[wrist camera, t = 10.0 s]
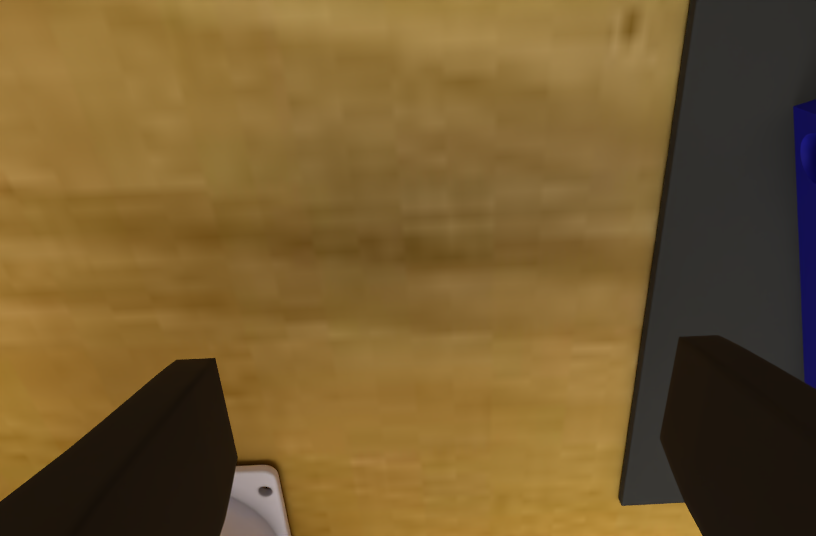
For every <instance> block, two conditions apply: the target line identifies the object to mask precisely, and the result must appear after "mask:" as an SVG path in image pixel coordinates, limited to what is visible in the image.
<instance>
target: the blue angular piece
mask: <svg viewBox="0 0 816 536" xmlns="http://www.w3.org/2000/svg"><path fill="white" fill-rule="evenodd" d="M793 112H794V136H795V160H796V185H797V209H798V233H799V258H800V282H801V306H802V331H803V355H804V380H805V383H806V384H808V385H810V386H811V387H813V388H815V389H816V99H815V100H812V101H809V102H806V103H802V104H799V105H796V106H793Z"/></svg>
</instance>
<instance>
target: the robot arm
mask: <svg viewBox="0 0 816 536" xmlns="http://www.w3.org/2000/svg"><path fill="white" fill-rule="evenodd" d="M660 441H661V444H662V446H663V449H664V452H665V454H666V457H667V460H668V463H669V465H670V468H671V471H672V473H673V476H674V478H675V480H676V483H677V485H678V488H679V490H680V493H681V495H682V498H683V500H684V502H685V503H686V505H687V507H688V509H689V511H690V513H691V515H692V517H693V519H694V520H695V522H696V524H697V526H698V528H699V530H700V532H701V533H702V535H703V536H816V389H815V388H813V387H811V386H810V385H808V384H806V383H805V382H803V381H801V380H799V379H798V378H796V377H794V376H792V375H791V374H789V373H787V372H786V371H784V370H782V369H780V368H779V367H777V366H775V365H773V364H772V363H770V362H768V361H766V360H765V359H763V358H761V357H759V356H758V355H756V354H754V353H752V352H751V351H749V350H747V349H745V348H743V347H741V346H740V345H738V344H736V343H734V342H732V341H730V340H728V339H726V338H724V337H722V336H719V335H707V336H686V337H679V339H678V344H677V349H676V355H675V360H674V365H673V370H672V376H671V381H670V386H669V391H668V397H667V402H666V407H665V412H664V417H663V423H662V428H661V433H660ZM237 458H238V457H237V452H236V448H235V443H234V439H233V435H232V430H231V426H230V421H229V417H228V412H227V408H226V404H225V399H224V395H223V390H222V386H221V381H220V377H219V373H218V368H217V364H216V359H215V358H207V359H185V360H176V361H174V362H173V363H172V364H170V365H169V366H168V367H166V368H165V369H164V370H162V371H161V372H160V373H159V374H158V375H156V376H155V377H154V378H153V379H151V380H150V381H149V382H148V383H147V384H146V385H144V386H143V387H142V388H141V389H140V390H138V391H137V392H136V393H135V394H134V395H133V396H131V397H130V398H129V399H128V400H127V401H126V402H124V403H123V404H122V405H121V406H120V407H118V408H117V409H116V410H115V411H114V412H112V413H111V414H110V415H109V416H108V417H106V418H105V419H104V420H103V421H102V422H100V423H99V424H98V425H97V426H96V427H94V428H93V429H92V430H91V431H90V432H88V433H87V434H86V435H85V436H84V437H82V438H81V439H80V440H79V441H78V442H76V443H75V444H74V445H73V446H72V447H70V448H69V449H68V450H67V451H65V452H64V453H63V454H61V455H60V456H59V457H58V458H56V459H55V460H54V461H52V462H51V463H50V464H49V465H47V466H46V467H45V468H43V469H42V470H41V471H39V472H38V473H37V474H36V475H34V476H33V477H32V478H30V479H29V480H28V481H26V482H25V483H24V484H23V485H21V486H20V487H19V488H17V489H16V490H15V491H14V492H12V493H11V494H10V495H8V496H7V497H6V498H4V499H3V500H2V501H1V502H0V536H291V533H290V528H289V523H288V518H287V513H286V509H285V504H284V499H283V494H282V489H281V485H280V480H279V475H278V472H277V470H276V469H275V468H273V467H271V466H269V465H248V466H236V464H237ZM264 486H265V487H269V489H268V488H264Z"/></svg>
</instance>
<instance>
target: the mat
mask: <svg viewBox="0 0 816 536" xmlns="http://www.w3.org/2000/svg"><path fill="white" fill-rule="evenodd" d="M815 99H816V0H690V7H689V14H688V21H687V28H686V35H685V42H684V48H683V55H682V62H681V69H680V76H679V83H678V90H677V97H676V104H675V111H674V118H673V125H672V132H671V139H670V145H669V152H668V159H667V166H666V173H665V180H664V187H663V194H662V201H661V208H660V215H659V222H658V229H657V235H656V242H655V249H654V256H653V263H652V270H651V277H650V284H649V291H648V298H647V305H646V312H645V319H644V326H643V332H642V339H641V346H640V353H639V360H638V367H637V374H636V381H635V388H634V395H633V402H632V409H631V416H630V423H629V429H628V436H627V443H626V450H625V457H624V464H623V471H622V478H621V485H620V492H619V500H620V503H621V505H622V506H626V505H645V504H664V503H683V502H684V500H683V498H682V495H681V493H680V490H679V488H678V485H677V483H676V480H675V478H674V476H673V473H672V471H671V468H670V465H669V463H668V460H667V457H666V454H665V452H664V449H663V446H662V444H661V441H660V433H661V428H662V423H663V417H664V412H665V407H666V402H667V397H668V391H669V386H670V381H671V376H672V370H673V365H674V360H675V355H676V349H677V344H678V339H679V337H686V336H707V335H719V336H722V337H724V338H726V339H728V340H730V341H732V342H734V343H736V344H738V345H740V346H741V347H743V348H745V349H747V350H749V351H751V352H752V353H754V354H756V355H758V356H759V357H761V358H763V359H765V360H766V361H768V362H770V363H772V364H773V365H775V366H777V367H779V368H780V369H782V370H784V371H786V372H787V373H789V374H791V375H792V376H794V377H796V378H798V379H799V380H801V381H803V382H805V380H804V355H803V331H802V306H801V282H800V258H799V233H798V209H797V185H796V160H795V136H794V112H793V106H796V105H799V104H802V103H806V102H809V101H812V100H815Z"/></svg>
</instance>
